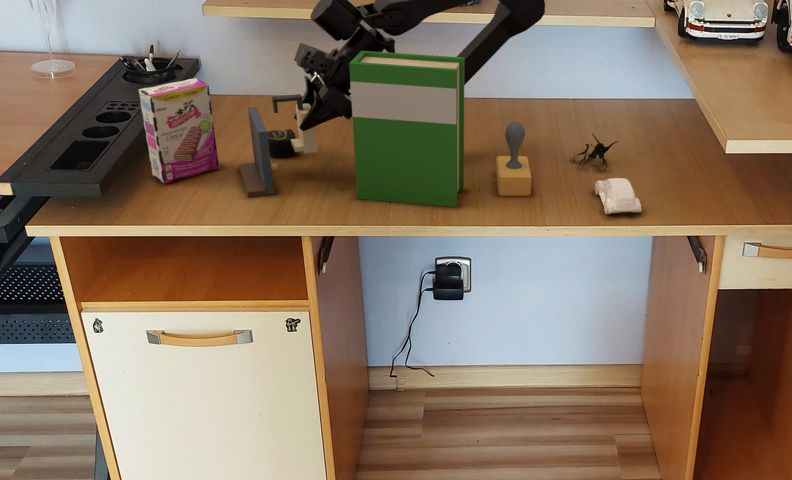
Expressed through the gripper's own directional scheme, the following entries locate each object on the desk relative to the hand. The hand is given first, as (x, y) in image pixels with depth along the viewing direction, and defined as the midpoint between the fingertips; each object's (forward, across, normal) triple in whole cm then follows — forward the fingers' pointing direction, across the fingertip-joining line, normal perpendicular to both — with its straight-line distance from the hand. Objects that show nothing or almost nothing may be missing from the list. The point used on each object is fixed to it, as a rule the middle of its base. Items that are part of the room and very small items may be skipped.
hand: (298, 124), depth 161 cm
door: (+12, 0, +2) cm, 12 cm away
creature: (-30, +11, +46) cm, 56 cm away
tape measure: (+8, -13, +6) cm, 16 cm away
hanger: (+4, 0, +3) cm, 5 cm away
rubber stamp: (-18, +15, +32) cm, 40 cm away
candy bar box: (+21, -8, -7) cm, 24 cm away
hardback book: (-4, +14, +19) cm, 24 cm away
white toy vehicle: (-28, +28, +43) cm, 58 cm away
